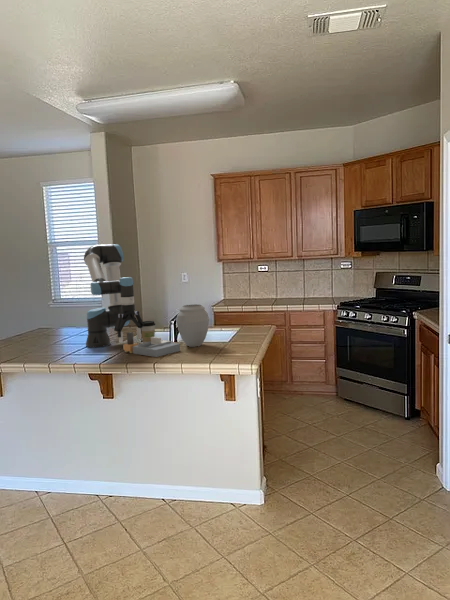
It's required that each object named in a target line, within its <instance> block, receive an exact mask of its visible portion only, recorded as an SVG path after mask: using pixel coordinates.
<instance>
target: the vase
mask: <svg viewBox="0 0 450 600" xmlns="http://www.w3.org/2000/svg"><path fill="white" fill-rule="evenodd" d="M176 324H177V325H176V326H177V331H178V333H179V335H180V339H181V340H182V341H183V343H184V344H185V345H186V346H187V347H188V346H189V348H196V347H195V346H198V347H200V346H202V344H203V343H204V341H205V339H206V338H207V333H208V330H209V326H210V325H209V324H210V318H209V314H208V312H207V311H206V310H205V306H203V305H201V304H195V303H194V304H185V305H184V304H183V305H182V306H181V307H180V308H179V312H177V315H176Z"/></svg>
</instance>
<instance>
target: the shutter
mask: <svg viewBox="0 0 450 600" xmlns="http://www.w3.org/2000/svg"><path fill="white" fill-rule="evenodd" d="M168 341H169V340H166V339H165V340H164V339H163V340H162V337H156V336H154V337H151V344H160V343H164V342H168Z"/></svg>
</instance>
